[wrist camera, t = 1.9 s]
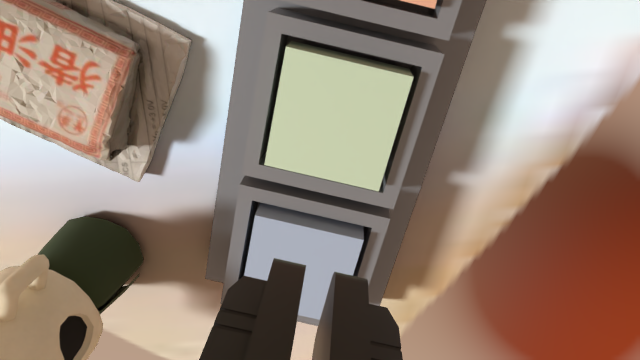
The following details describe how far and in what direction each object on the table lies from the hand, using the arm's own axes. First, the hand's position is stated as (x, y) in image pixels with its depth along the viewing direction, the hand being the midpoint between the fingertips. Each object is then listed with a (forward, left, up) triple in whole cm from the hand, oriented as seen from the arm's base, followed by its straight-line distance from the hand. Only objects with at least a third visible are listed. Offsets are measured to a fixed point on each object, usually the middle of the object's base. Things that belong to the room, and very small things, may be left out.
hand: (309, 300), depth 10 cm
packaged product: (+1, -19, -20) cm, 27 cm away
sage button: (0, 0, -15) cm, 15 cm away
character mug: (+15, -14, -19) cm, 28 cm away
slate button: (+9, 0, -15) cm, 18 cm away
